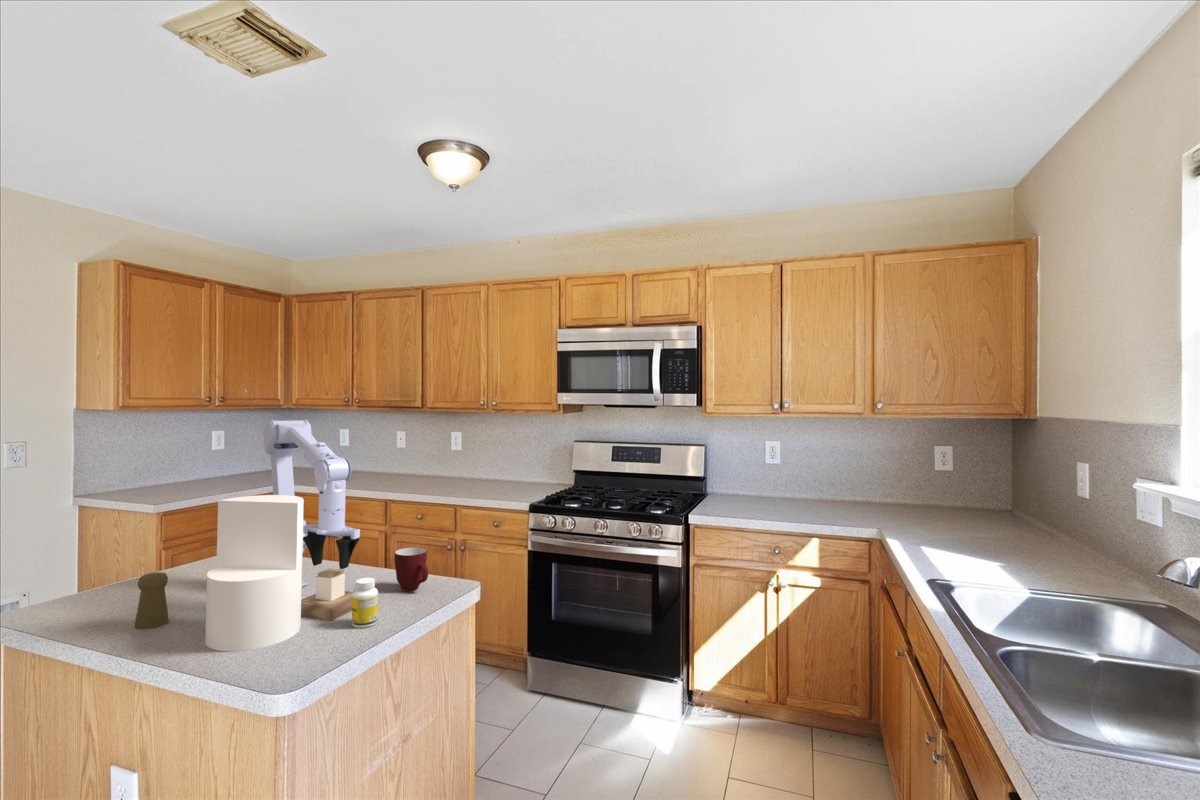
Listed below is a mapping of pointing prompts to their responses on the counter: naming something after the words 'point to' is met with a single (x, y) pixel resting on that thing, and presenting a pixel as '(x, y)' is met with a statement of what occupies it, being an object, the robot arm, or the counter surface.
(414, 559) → the mug
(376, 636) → the counter surface
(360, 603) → the supplement bottle
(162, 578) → the cork
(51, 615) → the counter surface
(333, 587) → the beige rectangular block
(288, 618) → the cream chair shape
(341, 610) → the tan square tray
